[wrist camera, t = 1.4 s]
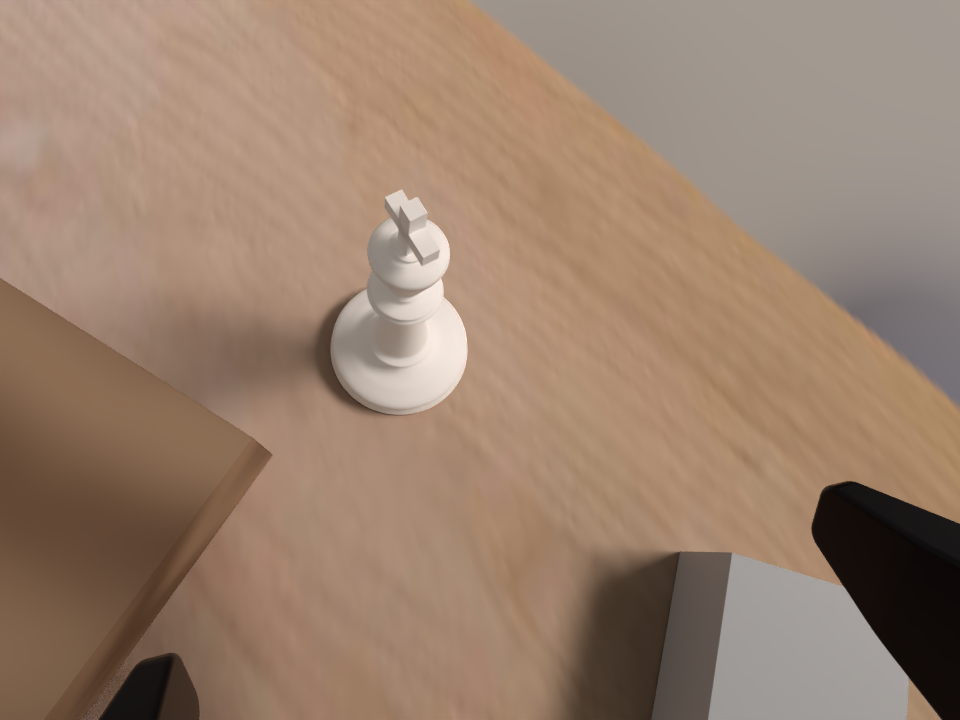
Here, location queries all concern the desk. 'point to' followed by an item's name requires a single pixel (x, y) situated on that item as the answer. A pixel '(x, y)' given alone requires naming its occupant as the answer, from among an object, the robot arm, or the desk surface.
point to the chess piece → (401, 319)
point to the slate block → (770, 648)
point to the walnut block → (95, 505)
